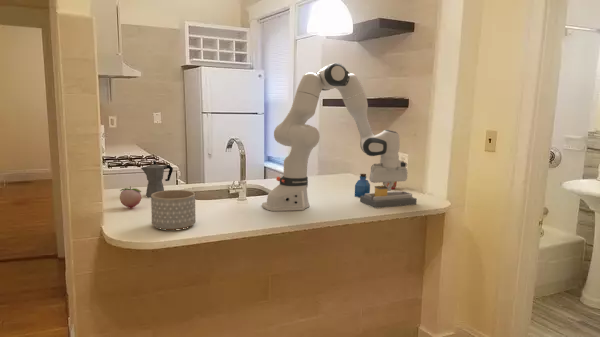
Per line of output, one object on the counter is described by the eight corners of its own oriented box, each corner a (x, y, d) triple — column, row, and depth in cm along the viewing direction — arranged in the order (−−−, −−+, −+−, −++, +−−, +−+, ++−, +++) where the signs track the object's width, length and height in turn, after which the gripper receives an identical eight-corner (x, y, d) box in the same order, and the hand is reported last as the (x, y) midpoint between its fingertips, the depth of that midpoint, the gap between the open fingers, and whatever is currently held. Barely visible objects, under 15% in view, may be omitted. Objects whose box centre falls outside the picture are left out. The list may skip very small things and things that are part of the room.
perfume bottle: (354, 196, 236) (355, 174, 234) (358, 194, 241) (359, 172, 239) (365, 198, 233) (366, 175, 231) (369, 195, 238) (370, 173, 236)
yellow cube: (379, 198, 217) (380, 188, 216) (374, 196, 221) (374, 186, 221) (387, 198, 218) (388, 187, 218) (381, 195, 223) (382, 185, 222)
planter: (160, 234, 163) (159, 200, 161) (146, 223, 176) (145, 192, 174) (202, 227, 172) (202, 195, 170) (186, 218, 185) (185, 188, 183)
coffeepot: (143, 198, 218) (141, 162, 215) (140, 195, 226) (139, 160, 223) (175, 196, 225) (174, 161, 222) (171, 192, 233) (170, 158, 230)
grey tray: (375, 208, 211) (375, 198, 210) (359, 201, 224) (360, 192, 223) (416, 204, 221) (416, 195, 220) (399, 198, 233) (399, 189, 233)
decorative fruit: (117, 210, 194) (117, 188, 193) (121, 206, 202) (120, 184, 201) (140, 210, 196) (139, 188, 194) (143, 206, 204) (142, 184, 202)
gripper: (374, 164, 212) (373, 193, 214) (410, 163, 220) (408, 190, 222) (367, 162, 218) (366, 190, 220) (402, 161, 226) (400, 188, 228)
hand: (387, 190), depth 221 cm, fingers closed
